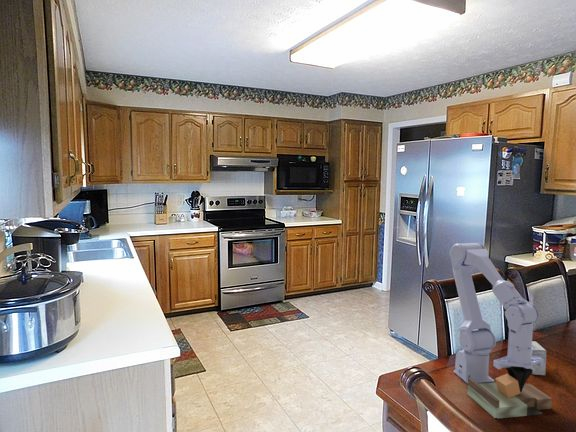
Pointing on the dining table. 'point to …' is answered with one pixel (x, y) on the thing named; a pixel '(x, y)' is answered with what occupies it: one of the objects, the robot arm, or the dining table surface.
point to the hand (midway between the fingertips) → (516, 390)
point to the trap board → (508, 400)
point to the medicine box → (540, 352)
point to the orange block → (507, 385)
